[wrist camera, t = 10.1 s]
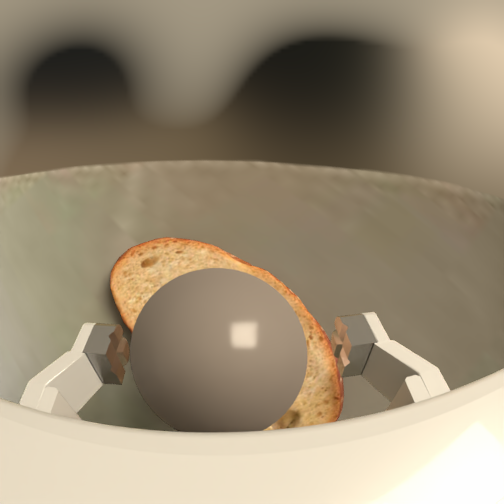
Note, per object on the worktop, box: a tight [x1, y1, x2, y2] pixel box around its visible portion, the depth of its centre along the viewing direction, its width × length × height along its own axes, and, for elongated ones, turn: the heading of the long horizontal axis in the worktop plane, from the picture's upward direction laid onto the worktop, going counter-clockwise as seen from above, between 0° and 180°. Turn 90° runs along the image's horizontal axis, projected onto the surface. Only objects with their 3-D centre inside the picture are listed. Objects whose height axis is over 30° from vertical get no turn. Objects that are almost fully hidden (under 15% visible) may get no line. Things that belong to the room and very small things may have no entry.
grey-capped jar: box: [130, 268, 307, 432], centre depth 14 cm, size 5×5×11 cm
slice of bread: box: [110, 237, 344, 431], centre depth 20 cm, size 18×18×4 cm
